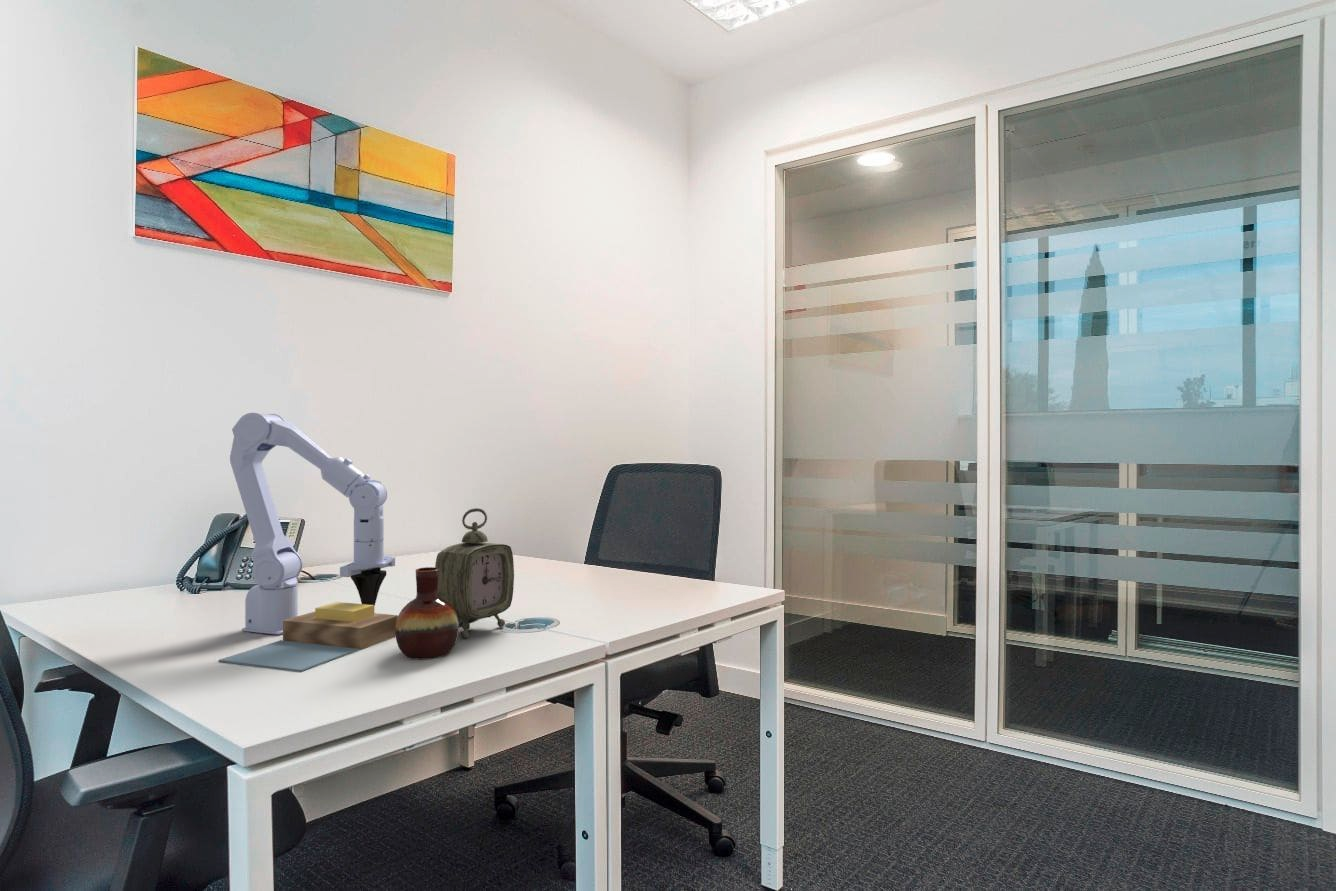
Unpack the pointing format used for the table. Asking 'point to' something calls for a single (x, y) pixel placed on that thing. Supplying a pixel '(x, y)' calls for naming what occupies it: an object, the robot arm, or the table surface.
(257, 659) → the mat
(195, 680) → the table surface
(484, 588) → the tabletop clock
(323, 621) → the brown wooden block
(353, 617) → the flat yellow block
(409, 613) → the vase
